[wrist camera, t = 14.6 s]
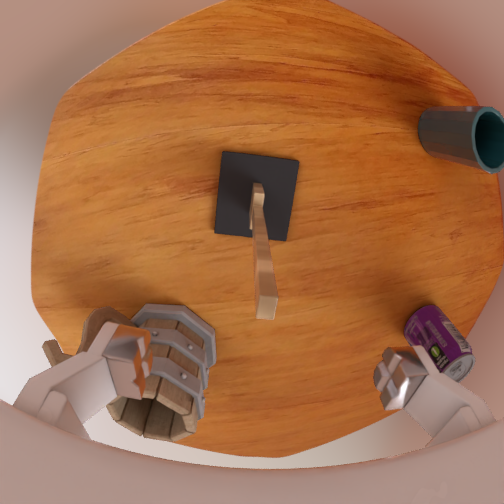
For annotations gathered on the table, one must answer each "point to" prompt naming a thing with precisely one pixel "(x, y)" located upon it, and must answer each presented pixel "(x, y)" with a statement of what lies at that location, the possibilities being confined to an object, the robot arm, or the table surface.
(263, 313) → the wooden stir stick
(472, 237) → the table surface
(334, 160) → the table surface
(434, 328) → the beverage can
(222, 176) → the mat
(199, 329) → the tankard
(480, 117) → the cup
